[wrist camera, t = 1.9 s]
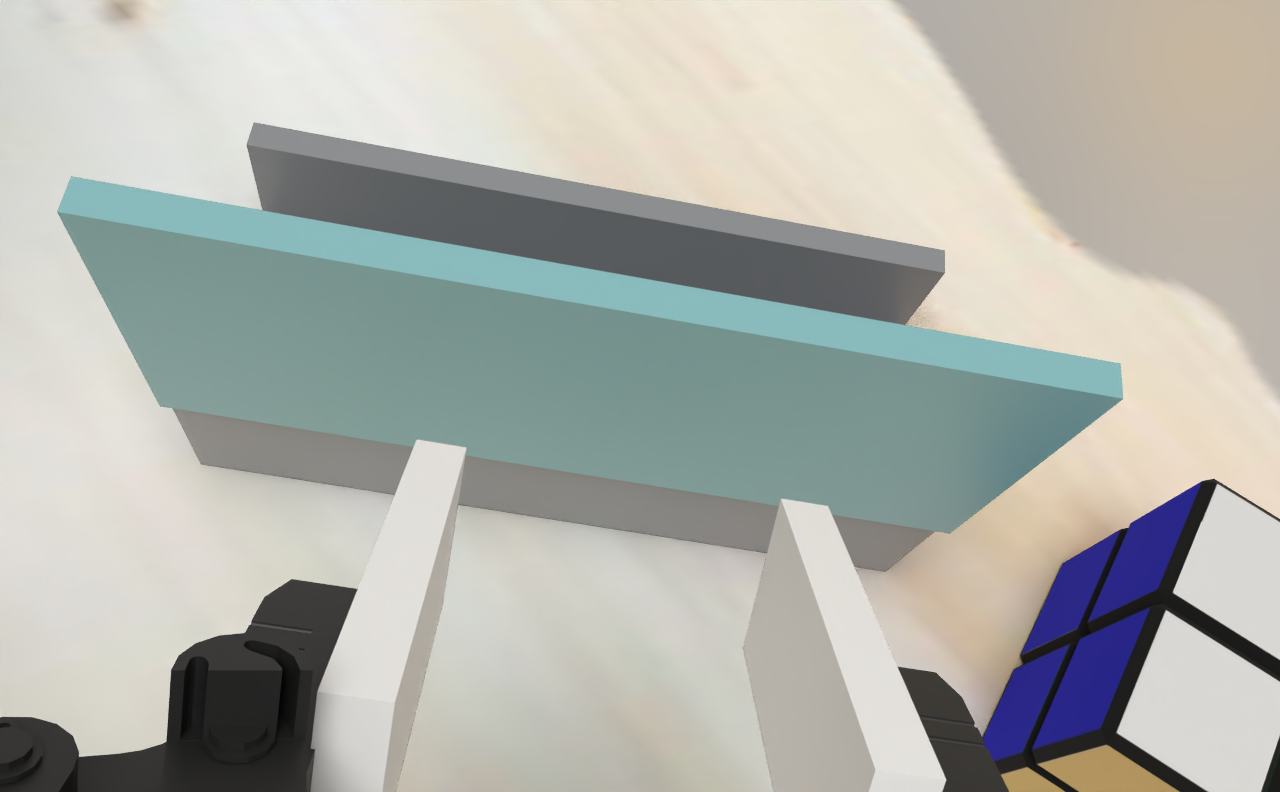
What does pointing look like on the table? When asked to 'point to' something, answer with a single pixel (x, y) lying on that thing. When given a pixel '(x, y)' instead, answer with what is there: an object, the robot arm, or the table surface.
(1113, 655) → the puzzle cube
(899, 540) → the cable duct
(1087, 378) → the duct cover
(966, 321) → the table surface
